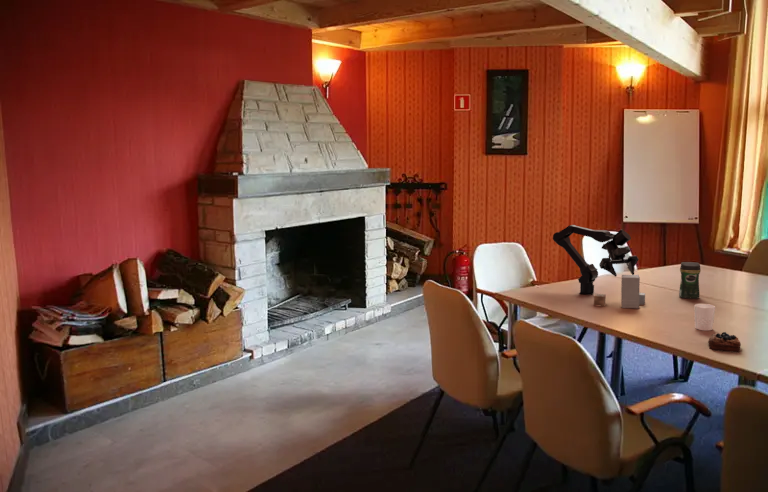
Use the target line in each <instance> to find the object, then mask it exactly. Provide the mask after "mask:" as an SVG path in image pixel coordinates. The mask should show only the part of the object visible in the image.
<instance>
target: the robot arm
mask: <svg viewBox="0 0 768 492" xmlns="http://www.w3.org/2000/svg"><path fill="white" fill-rule="evenodd" d="M573 234H575V235H580V236H582V237H588V238H591V239H592V240H594V241H596V242H599V243H603V245H602V246H601V249H603V250H605V251H607V253H608V256H607V257H603V258H601V260H600V262H599V268H600V270H602V269H603V270H605V271H607V272H608V273H609V274H611V275H612V276H614V277H615V278H616V277H617V272H616V270H615V268H614V266H613V265H623V264H624V265H625V264H626V266H627V269H628V270H629V272H630V275H635V266H636V265H637V263H638V262H639V260H640V259H639V257H638V255H629V256H628V257H627V258H626V255H627V254H628V253H630V252H631V248H630V246H629V245H625V244H627V243H628V242H629V241H631V240H632V237H631V235H630V234H629V233H628V232H626V231H625V230H624V229H619V230H618V232H617V233H611V232H610V231H609V230H604V229H603V230H601V229H591V228H587V227H583V226H578V225H575V224H571V225H568V226H566V227H565V228H563V229H562V230H559V231H557V232H554V234H553V235H552V241H553V242H555V244H557V245H558V246H559V247H561V248H562V249H564V251H565V252H566V253H567V254H568V255H569V257H570V258H571V259H572V261H573V262H574V263H575V265H577V267H578V268H579V272H580V275H581V276H580V277H578V279H577V280H578V283H579V284H580V288H579V289H580V290H579V294H580V293H581V294H580V295H588V294H591V295H590V296H592V295H594V293H595V284H594V282H595V281H596V279H597V278H598V277H599V272H598V268H596V267H595V265H594V264H593V263H591V264H589V263H588V262H587V261H586V260H585V259H584V257H583V256H582V255H581V254H580V253H579V251H578V250H577V249H576V248H575V246H574V245H573V244H572V242H571V238H570V236H572V235H573ZM624 245H625V246H624ZM619 246H620V247H619ZM623 246H624V247H623Z"/></svg>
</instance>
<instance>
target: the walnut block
mask: <svg viewBox="0 0 768 492" xmlns="http://www.w3.org/2000/svg"><path fill="white" fill-rule="evenodd" d="M594 305H601V306H600V307H605V306H606V294H603V293H602V294H601V293H600V294H599V293H595V294H593V306H594Z"/></svg>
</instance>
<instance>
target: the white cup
mask: <svg viewBox="0 0 768 492" xmlns="http://www.w3.org/2000/svg"><path fill="white" fill-rule="evenodd" d="M715 313H716V306H715V305H713V304H709V303H695V304H694V316H693V317H694V328H695V329H696V330H700V331H708V332H709V331H712V330H713V329H714V328H713V327H714V320H715Z"/></svg>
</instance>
